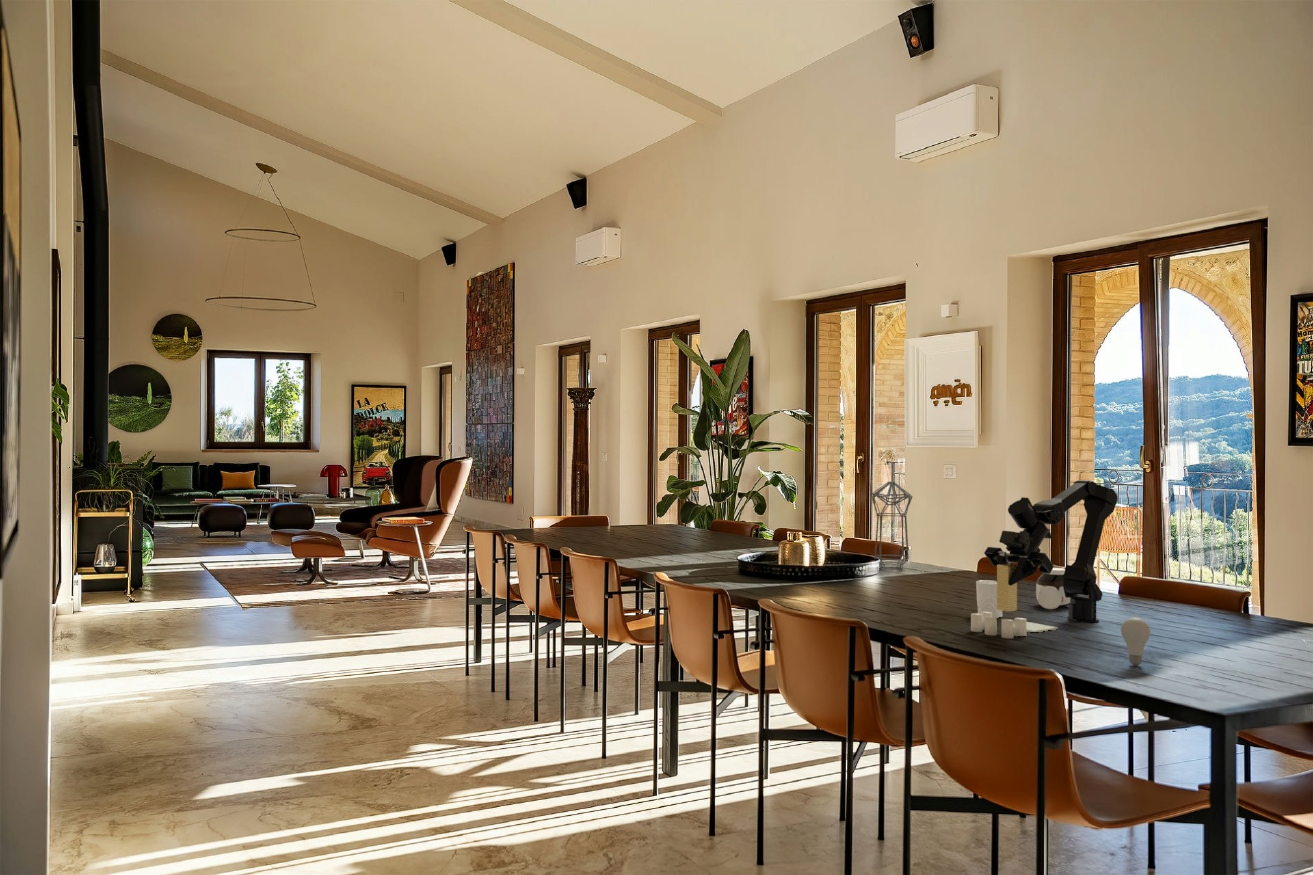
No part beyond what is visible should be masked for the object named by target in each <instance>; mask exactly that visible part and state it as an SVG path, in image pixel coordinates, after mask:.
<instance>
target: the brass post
mask: <svg viewBox="0 0 1313 875" xmlns="http://www.w3.org/2000/svg"><path fill="white" fill-rule="evenodd" d="M1017 565H1018V564H1010V565H1009V564H1001V565H997V567H996V579H997V610H1002V611H1003V612H1014V611H1017V610H1018V582H1017V583H1015V584H1013V585H1009V580H1010V578H1011V576H1012V575H1013V573H1014V571H1015V569H1016V568H1017Z"/></svg>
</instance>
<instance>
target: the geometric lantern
mask: <svg viewBox="0 0 1313 875" xmlns="http://www.w3.org/2000/svg"><path fill="white" fill-rule="evenodd" d="M888 486H889V488H888V490H887V493H886V494H884V493H883V494H882V492H883V491H884V490H885V489H886V488H887V487H888ZM895 487H897V489H898V490H900V491H901V492H902V493H899V494H898V493H897V491H896V488H895ZM891 492H892V493H891ZM870 495H871V496H872V497H871V499H872V503H873V507H874V510H875V514H876V519H877V520H876V530H875V532H876V534H875V548H874V560H875V559H879V561H880V563H879V567H880V568H879V569H880V570H881V571H882V570H883V571H889V570H890V571H903V570H904V565H905V563H906V562H907V561H909V560H910V559H909V558H910V557H909V555H910V554H909V540H908V538H909V537H908V524H907V522H908V521H907V515H908V511H909V506H910V505H911V502H912V499H913V495H911V494H910V492H908V491H907V490H905V489H904V488H903V487H902V486H900V485H899V484H898V483H896V481H893V480H892V481H887V482H885V483H884V484H883V485H882V486H880V487H879V488H876V490H875V491H872V493H870ZM890 496H891V497H890ZM876 498H877V499H879V500H880V501H882V502H883V503H884V506H883V509H882V510H881V512H880V509H879V506H878V503H877V502H876ZM906 499H907V500H908V501H907V504H906V508H905V510H904V511H903V510H902V508H901V507H900V505H899V503H901V502H903V501H905V500H906ZM890 500H892V501H890ZM889 506H895V508H896V510H897V511H898V512H885V511H886V510H887V508H889ZM899 509H900V510H899ZM883 517H900V519H901V522H900V523H901V524H900V525H901V554H882V532H883ZM904 528H905V529H904ZM904 530H905V538H904ZM878 531H879V532H878ZM878 534H879V550H878V554H877V548H878V547H877V546H878ZM904 539H905V541H904ZM904 542H905V544H904ZM905 546H906V547H905ZM905 548H906V555H905ZM883 557H900V558H883ZM885 560H887V561H885ZM893 563H894V564H893ZM895 563H896V564H895Z"/></svg>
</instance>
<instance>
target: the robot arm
mask: <svg viewBox="0 0 1313 875" xmlns="http://www.w3.org/2000/svg"><path fill="white" fill-rule="evenodd" d="M1118 500H1119V498H1118V494H1117V493H1116V491H1115V490H1114V489H1113V488H1110V487H1106V486H1104V485H1100V484H1097V483H1096V482H1095V481H1092V480H1090V479H1077V480H1075V481H1073V484H1072V485H1070V486H1068V487H1067V488H1065V490H1063V491H1061V492H1060V493H1058V494H1057V495H1056V496H1054V497H1053V498H1050V499H1045V500H1041V501H1038V502H1036V503H1034V504H1032V502H1031V500H1030V499H1029V497H1024V496H1023V497H1021V498H1020V499H1019V500H1016V501H1014V502H1013V503H1011V504H1009V505H1008V508H1007V512H1008V514H1009V516H1010V517H1011V518H1012V520H1013V521H1014V522H1015V524H1016V526H1017V527H1019V528H1020V529H1022V530H1020V531H1019V532H1016V531H1010V530H1002V531H1001V534H1000V537H999V543H1001V544H1003V545H1004V546H1006V547H1005V549H1006V551H1003V549H1002V548H1001V547H996V546H995V547H993V546H987V548H986V549H985V551H984V552H983V554H984V556H985V557H986V558H987V560H988V561H989V563H991V565H992V566H993V567H995V568H997V565H1001V564H1009V565H1011V563H1012V564H1016V565H1017V568H1016V569H1015V571H1014V573H1013V575H1012V576H1011V578H1010V580H1009V585H1013V584H1015V583H1017V584H1018V583H1019V582H1021V581H1022V580H1024V579H1026V578H1028V577H1031V576H1033V575H1036V574H1037V570H1039V572H1040V573H1041V574H1043V573H1046V574H1050V573H1051V571H1052V569H1053V568H1054V564H1053V562H1052V561H1051V559H1050V558H1049V557H1048V555H1047V553H1046V552H1041V549H1040V546H1041V545H1042V543H1043V541H1044V540H1045V539H1047V540H1048V539H1049V540H1052V538H1053V537H1052V533H1051V529H1050V528H1048V527H1047V526H1046V525H1049V526H1050V525H1051V526H1056V525H1058V524H1060V522H1061V521H1063V519H1064V518H1065V517H1066V516H1065V515H1066V514H1065V513H1066V512H1067V511H1068V510H1070V509H1071V508H1073V507H1074V506H1075V505H1077V504H1078V503H1079V502H1081V501H1083V507H1084V510H1085V513H1086V518H1085V521H1084V525H1083V529H1082V532H1081V533H1082V534H1081V537H1080V541H1079V545H1078V549H1077V552H1076V556H1075V560H1074V562H1073V563H1072V564H1070V565H1069V564H1067V565H1066V566H1065V568H1064V569H1065V572H1064V575H1063V577H1062V578H1063V581H1062V584H1063V589H1064V593H1065V597H1066V598H1070V603H1069V605H1068V616H1067V617H1066V618H1067V619H1069V620H1071V621H1074V622H1077V623H1099V622H1100V620H1099V619H1097V602H1100V601H1102V598H1103V591H1102V590H1101V589H1100V587H1099V586H1098V584H1097V574H1096V570H1095V568H1094V567H1095V566H1094V565H1095V561H1096V557H1097V554H1098V553H1097V552H1098V550H1099V545H1100V541H1101V538H1102V533H1103V530H1104V529H1103V528H1104V526H1105V522H1106V519H1107V518H1109V517H1110V515H1111V514H1113V512H1114V511H1115V508H1116V506H1117V503H1118ZM1007 551H1008V552H1009V553H1007ZM995 581H996V582H997V578H995Z"/></svg>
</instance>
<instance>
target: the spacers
mask: <svg viewBox="0 0 1313 875" xmlns="http://www.w3.org/2000/svg"><path fill="white" fill-rule="evenodd" d="M997 621H998V618H997V617H992V612H981V614H978V612H977V613H971V614H970V632H974V633H982V632H983V630H984V635H986V636H997V635H998V634H997V632H998V631H997V630H998V629H997V628H998V627H997V625H998V624H997V623H998V622H997ZM1027 622H1028V621H1027V618H1025V617H1024V618H1023V617H1014V619H1011V618H1010V619H1009V618H1002V619H1001V638H1003V639H1014V638H1015V637H1017V636H1026V637H1027V634H1028V632H1027ZM1014 636H1015V637H1014Z"/></svg>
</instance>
